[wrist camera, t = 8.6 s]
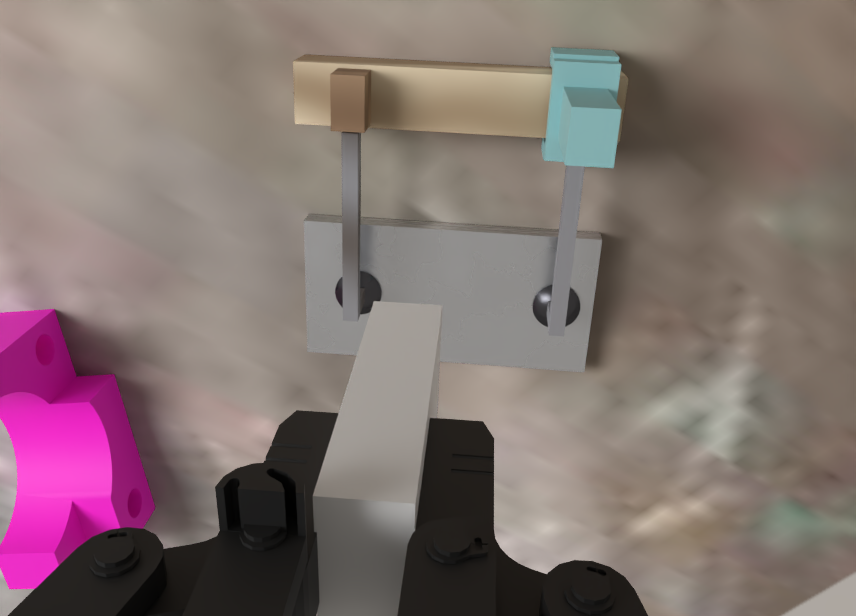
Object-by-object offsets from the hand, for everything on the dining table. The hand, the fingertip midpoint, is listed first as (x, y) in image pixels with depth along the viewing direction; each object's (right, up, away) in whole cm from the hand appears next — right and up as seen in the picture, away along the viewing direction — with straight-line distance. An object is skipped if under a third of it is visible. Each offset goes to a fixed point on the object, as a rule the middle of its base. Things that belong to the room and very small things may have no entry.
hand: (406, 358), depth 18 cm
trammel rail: (+2, +8, +25) cm, 27 cm away
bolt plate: (+2, +2, +28) cm, 28 cm away
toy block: (-22, -6, +34) cm, 41 cm away
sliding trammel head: (+8, +7, +24) cm, 27 cm away
